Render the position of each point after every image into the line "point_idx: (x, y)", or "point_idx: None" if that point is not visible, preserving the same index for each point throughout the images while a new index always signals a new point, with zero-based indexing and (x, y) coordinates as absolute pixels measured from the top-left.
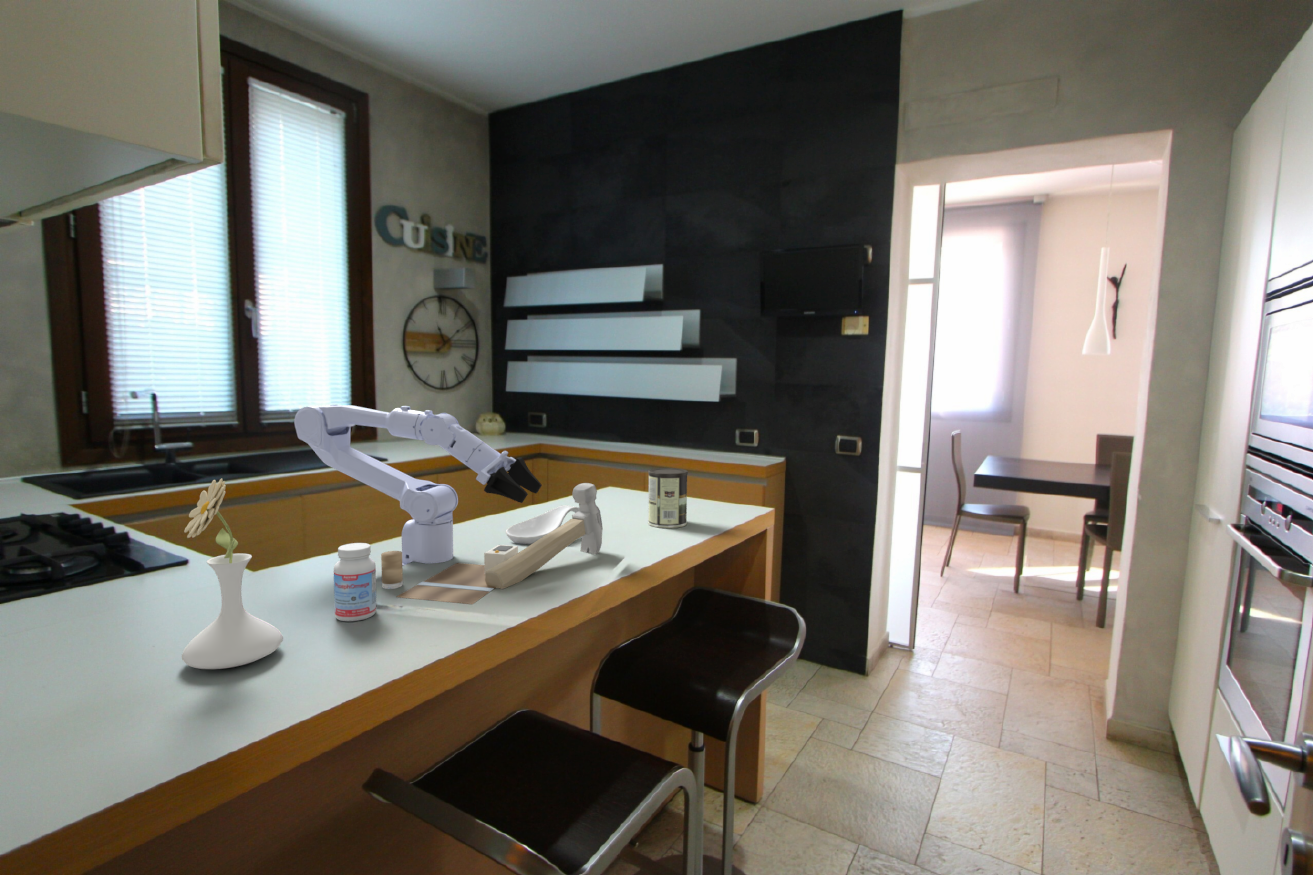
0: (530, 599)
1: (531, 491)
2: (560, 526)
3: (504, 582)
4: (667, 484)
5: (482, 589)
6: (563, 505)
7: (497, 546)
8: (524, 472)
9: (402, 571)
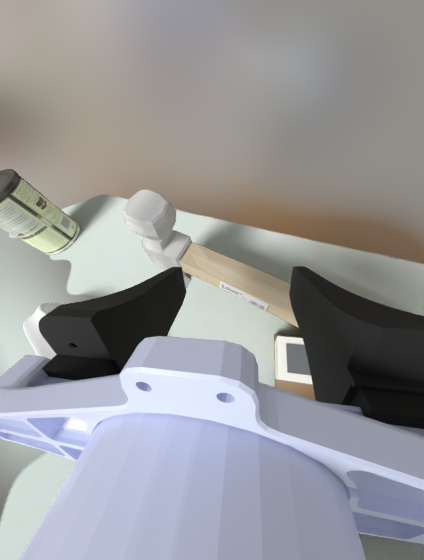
0: (374, 290)
1: (182, 302)
2: (209, 273)
3: None
4: (27, 194)
5: None
6: (27, 332)
7: (292, 377)
8: (147, 303)
9: None
